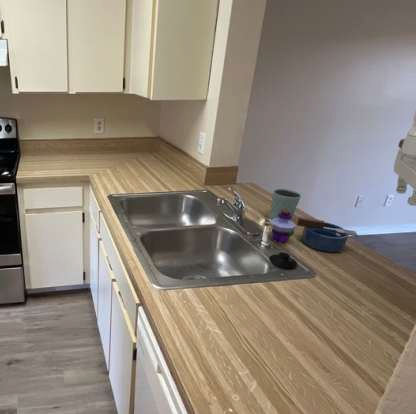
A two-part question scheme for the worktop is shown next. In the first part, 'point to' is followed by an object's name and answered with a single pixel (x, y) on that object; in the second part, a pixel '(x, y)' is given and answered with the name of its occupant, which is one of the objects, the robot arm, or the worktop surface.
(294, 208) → the grey-green tapered cup
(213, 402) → the worktop surface
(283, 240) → the potion bottle
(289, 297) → the worktop surface
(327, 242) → the bowl
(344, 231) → the fork
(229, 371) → the worktop surface
